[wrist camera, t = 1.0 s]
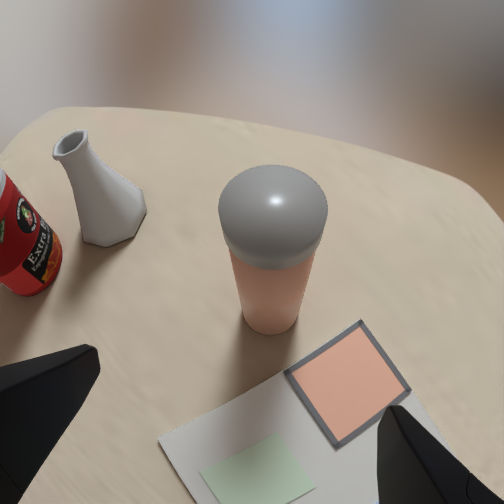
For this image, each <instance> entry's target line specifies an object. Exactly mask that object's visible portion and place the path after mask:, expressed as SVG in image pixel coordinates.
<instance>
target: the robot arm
mask: <svg viewBox="0 0 504 504" xmlns="http://www.w3.org/2000/svg"><path fill="white" fill-rule="evenodd" d="M99 373H100V363H99V357H98V351H97V349H96V348H95V347H93V346H90V345H88V344H83V345H80V346H76V347H72V348H69V349H65V350H62V351H58V352H55V353H51V354H47V355H44V356H40V357H36V358H32V359H29V360H25V361H21V362H17V363H13V364H9V365H6V366H2V367H0V504H18V502H19V501H20V499H21V497H22V496H23V494H24V492H25V491H26V489H27V488H28V486H29V484H30V483H31V481H32V480H33V478H34V477H35V475H36V473H37V472H38V470H39V469H40V467H41V466H42V464H43V463H44V461H45V460H46V458H47V457H48V455H49V454H50V452H51V451H52V449H53V448H54V446H55V445H56V443H57V442H58V440H59V439H60V437H61V436H62V434H63V433H64V431H65V430H66V428H67V427H68V426H69V424H70V423H71V421H72V420H73V418H74V417H75V415H76V414H77V413H78V411H79V409H80V408H81V406H82V405H83V403H84V401H85V399H86V397H87V395H88V394H89V392H90V390H91V388H92V386H93V385H94V383H95V381H96V379H97V377H98V376H99ZM377 484H378V497H379V504H504V501H503V500H502V499H501V498H499V497H498V496H497V495H496V494H494V493H493V492H492V491H491V490H490V489H488V488H487V487H486V486H485V485H484V484H483V483H482V482H481V481H480V480H478V479H477V478H476V477H475V476H474V475H473V474H472V473H470V471H469V470H468V469H467V468H466V467H465V466H464V465H463V464H462V463H461V462H460V461H459V460H458V459H457V458H455V457H454V456H453V455H452V454H451V453H450V452H449V451H448V450H447V449H446V448H445V447H444V446H443V445H442V444H441V443H440V442H439V441H438V440H437V439H436V438H435V437H434V436H433V435H432V434H431V433H430V432H429V431H428V430H427V429H426V428H425V427H424V426H422V425H421V424H420V423H419V422H418V421H417V420H416V419H415V418H414V417H413V416H412V415H411V414H410V413H409V412H408V411H407V410H406V409H405V408H404V407H403V406H401V405H389V406H387V408H386V410H385V412H384V414H383V416H382V418H381V420H380V422H379V424H378V428H377Z"/></svg>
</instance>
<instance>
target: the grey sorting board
mask: <svg viewBox="0 0 504 504" xmlns="http://www.w3.org/2000/svg"><path fill="white" fill-rule="evenodd" d="M389 405H401V406H403V407H404V408H405V409H406V410H407V411H408V412H409V413H410V414H411V415H412V416H413V417H414V418H415V419H416V420H417V421H418V422H419V423H420V424H421V425H422V426H424V427H425V428H426V429H427V430H428V431H429V432H430V433H431V434H432V435H433V436H434V437H435V438H436V439H437V440H438V441H439V442H440V443H441V444H442V445H443V446H444V447H445V448H446V449H447V450H448V451H449V452H450V453H451V454H452V455H453V456H454V457H455V458H457V457H456V456H455V454H454V452H453V451H452V449H451V448H450V446H449V445H448V443H447V442H446V440H445V439H444V437H443V435H442V434H441V432H440V431H439V429H438V428H437V426H436V425H435V423H434V422H433V420H432V419H431V417H430V416H429V414H428V413H427V411H426V410H425V408H424V407H423V405H422V404H421V403H420V401H419V400H418V398H417V397H416V395H415V394H414V392H413V391H412V389H411V388H410V386H409V385H408V384H407V382H406V381H405V379H404V378H403V376H402V375H401V374H400V372H399V371H398V369H397V368H396V367H395V365H394V364H393V362H392V361H391V360H390V358H389V357H388V355H387V354H386V353H385V351H384V350H383V348H382V347H381V346H380V344H379V343H378V341H377V340H376V339H375V337H374V336H373V335H372V333H371V332H370V331H369V329H368V328H367V326H366V325H365V324H364V322H363V321H362V320H361V318H359V319H358V320H357V321H355V322H354V323H352V324H351V325H350V326H348V327H347V328H345V329H344V330H343V331H341V332H340V333H338V334H337V335H336V336H334V337H333V338H331V339H330V340H328V341H327V342H325V343H324V344H322V345H321V346H319V347H318V348H316V349H315V350H313V351H312V352H310V353H309V354H307V355H306V356H304V357H303V358H301V359H300V360H298V361H296V362H295V363H293V364H292V365H290V366H288V367H287V368H285V369H284V370H282V371H280V372H279V373H277V374H276V375H274V376H272V377H271V378H269V379H267V380H266V381H264V382H262V383H260V384H259V385H257V386H255V387H254V388H252V389H250V390H248V391H247V392H245V393H243V394H241V395H240V396H238V397H236V398H234V399H232V400H230V401H229V402H227V403H225V404H223V405H221V406H219V407H217V408H216V409H214V410H212V411H210V412H208V413H206V414H204V415H202V416H200V417H198V418H196V419H194V420H192V421H190V422H188V423H186V424H184V425H182V426H180V427H178V428H176V429H174V430H172V431H169V432H167V433H165V434H163V435H161V436H159V437H157V439H158V441H159V442H160V444H161V446H162V448H163V449H164V451H165V453H166V455H167V456H168V458H169V460H170V461H171V463H172V465H173V466H174V468H175V470H176V471H177V473H178V475H179V476H180V478H181V479H182V481H183V482H184V484H185V486H186V487H187V489H188V490H189V492H190V493H191V495H192V496H193V498H194V499H195V501H196V502H197V503H198V504H379V497H378V484H377V428H378V424H379V422H380V420H381V418H382V416H383V414H384V412H385V410H386V408H387V406H389Z"/></svg>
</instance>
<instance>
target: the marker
mask: <svg viewBox="0 0 504 504" xmlns="http://www.w3.org/2000/svg"><path fill="white" fill-rule="evenodd" d="M218 211H219V217H220V221H221V226H222V230H223V235H224V239H225V241H226V244H227V245H228V247H229V252H230V256H231V261H232V266H233V270H234V275H235V279H236V284H237V288H238V293H239V297H240V302H241V306H242V311H243V315H244V318H245V320H246V322H247V324H248V325H249V326H250V327H251V328H252V329H253V330H255V331H256V332H258V333H261V334H264V335H277V334H280V333H283V332H285V331H287V330H288V329H289V328H290V327H291V326H292V325H293V324H294V323H295V321H296V319H297V316H298V313H299V309H300V306H301V303H302V299H303V296H304V292H305V288H306V285H307V281H308V278H309V274H310V270H311V267H312V263H313V259H314V255H315V252H316V249H317V247H318V245H319V243H320V241H321V238H322V234H323V230H324V226H325V222H326V218H327V214H328V205H327V200H326V196H325V194H324V192H323V190H322V189H321V187H320V186H319V185H318V184H317V182H316V181H315V180H313V179H312V178H311V177H310V176H308V175H307V174H305V173H303V172H302V171H299V170H297V169H294V168H291V167H287V166H282V165H263V166H257V167H254V168H251V169H248V170H246V171H244V172H242V173H240V174H238V175H237V176H235V177H234V178H233V179H232V180H231V181H230V182H229V183H228V184H227V185H226V187H225V188H224V189H223V191H222V193H221V196H220V199H219V205H218Z"/></svg>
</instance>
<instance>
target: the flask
mask: <svg viewBox="0 0 504 504" xmlns="http://www.w3.org/2000/svg"><path fill="white" fill-rule="evenodd" d="M52 157H53V158H54V159H55V160H58V161H60V162H61V164H62V165H63V167H64V169H65V170H66V172H67V175H68V178H69V180H70V183H71V186H72V188H73V193H74V198H75V202H76V207H77V211H78V216H79V221H80V226H81V231H82V235H83V239H84V242H88V243H92V244H96V245H99V246H103V247H108V246H111V245H113V244H116V243H118V242H121V241H123V240H126V239H128V238H131V237H133V236H134V235H135V233H136V231H137V229H138V227H139V225H140V223H141V221H142V219H143V217H144V215H145V213H146V211H147V210H146V206H145V201H144V197H143V193H142V190H141V189H140V188H138V187H137V186H136V185H134V184H133V183H131V182H130V181H128V180H127V179H125V178H124V177H122V176H121V175H120V174H118V173H117V172H116V171H114V170H113V169H112V168H110V167H109V166H108V165H106V164H105V163H104V162H103V161H102V160H101V159H100V158H99V156H98V155H97V154H96V153H95V152H94V151H93V149H92V147H91V146H90V144H89V142H88V131H87V130H86V129H81V130H74V131H72V132H70V133H68V134H66V135H63V136H62V137H61V138H60V140H59V141H58V142H57V143H56V145H55V146H54V148H53V155H52Z"/></svg>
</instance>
